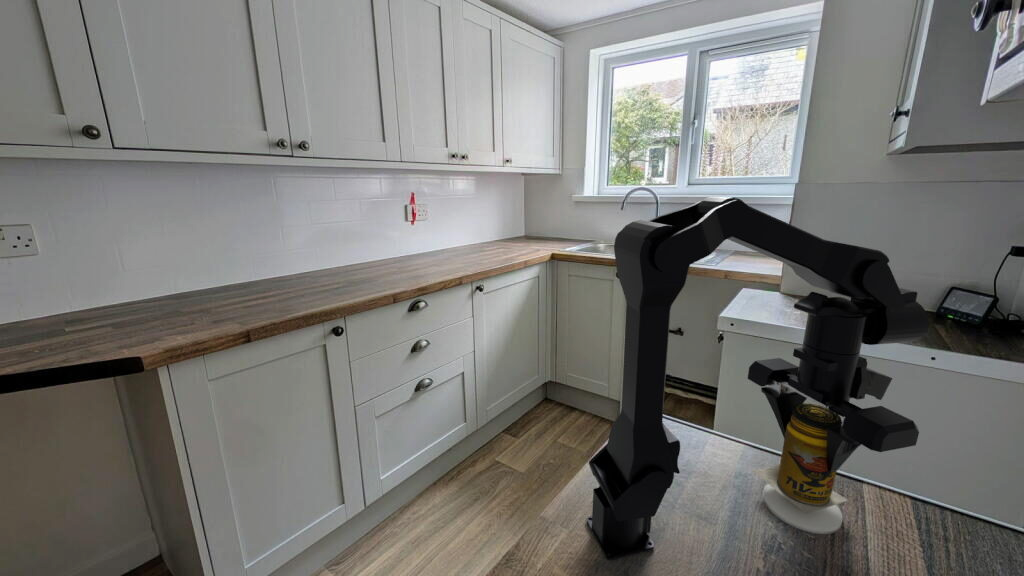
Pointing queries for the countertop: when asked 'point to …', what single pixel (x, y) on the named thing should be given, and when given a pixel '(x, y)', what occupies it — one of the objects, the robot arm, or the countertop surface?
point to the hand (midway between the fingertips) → (809, 455)
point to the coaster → (802, 514)
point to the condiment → (805, 460)
